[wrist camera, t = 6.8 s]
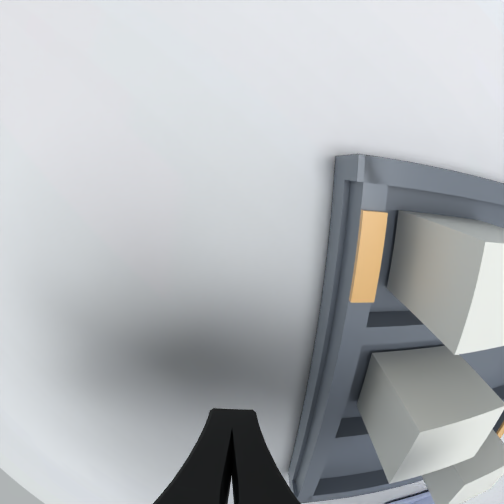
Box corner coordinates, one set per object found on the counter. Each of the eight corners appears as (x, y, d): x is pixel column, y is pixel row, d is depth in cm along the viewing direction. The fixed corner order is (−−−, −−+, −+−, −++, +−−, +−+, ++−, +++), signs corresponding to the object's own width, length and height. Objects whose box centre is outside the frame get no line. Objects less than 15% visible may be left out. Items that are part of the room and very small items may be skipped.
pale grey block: (461, 443, 14) (490, 489, 9) (412, 458, 13) (439, 512, 9) (480, 412, 13) (515, 459, 8) (430, 427, 13) (464, 484, 8)
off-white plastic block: (466, 287, 11) (537, 337, 6) (386, 288, 10) (454, 355, 6) (479, 220, 10) (562, 250, 5) (398, 210, 10) (485, 241, 5)
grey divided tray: (471, 436, 15) (485, 458, 13) (288, 472, 15) (292, 506, 12) (551, 202, 11) (583, 210, 8) (335, 156, 11) (361, 153, 8)
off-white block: (430, 393, 12) (473, 456, 8) (356, 405, 12) (389, 483, 7) (449, 345, 11) (506, 405, 7) (372, 352, 11) (420, 432, 7)
